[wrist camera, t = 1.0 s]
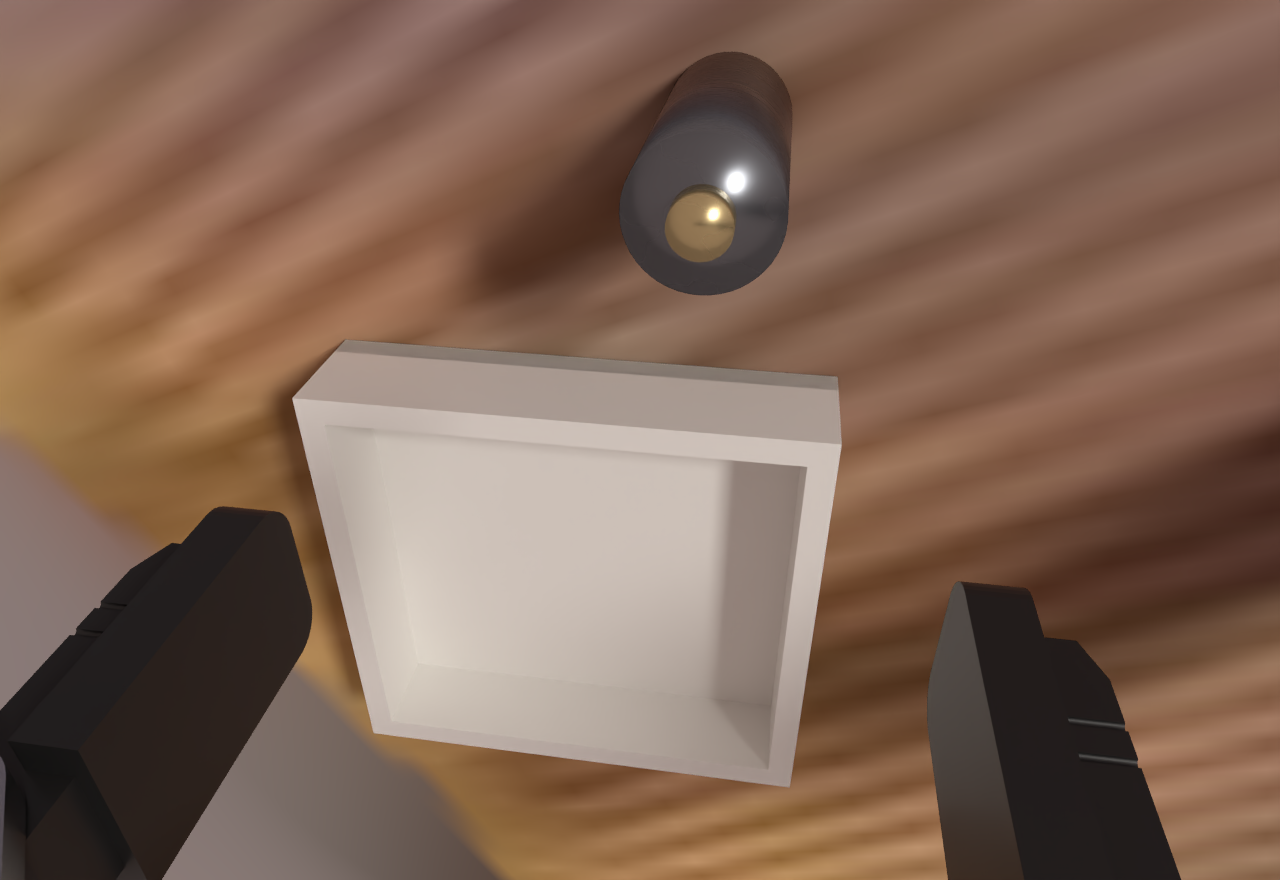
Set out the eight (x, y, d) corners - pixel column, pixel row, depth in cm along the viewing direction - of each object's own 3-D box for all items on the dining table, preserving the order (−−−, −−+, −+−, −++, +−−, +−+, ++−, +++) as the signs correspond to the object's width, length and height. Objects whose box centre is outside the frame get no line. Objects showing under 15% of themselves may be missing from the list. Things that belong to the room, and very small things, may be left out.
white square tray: (837, 376, 33) (841, 444, 30) (790, 705, 43) (789, 787, 40) (345, 339, 36) (292, 398, 32) (408, 660, 46) (373, 733, 42)
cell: (798, 54, 28) (795, 145, 20) (786, 184, 30) (779, 314, 22) (667, 49, 28) (612, 136, 20) (665, 178, 30) (614, 303, 22)
